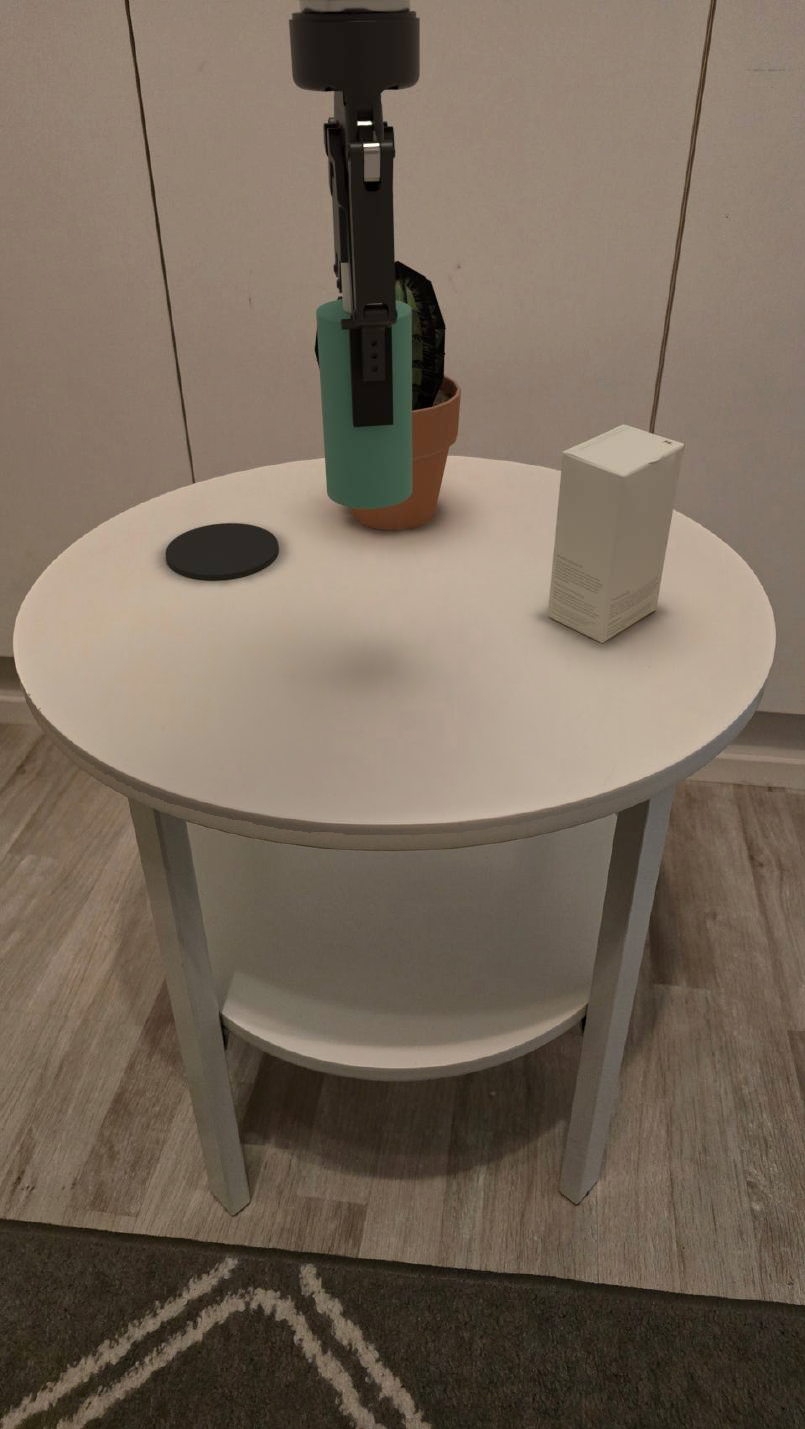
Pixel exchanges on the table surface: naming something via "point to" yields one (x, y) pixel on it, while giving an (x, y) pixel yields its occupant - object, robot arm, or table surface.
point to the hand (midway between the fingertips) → (366, 405)
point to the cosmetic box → (612, 530)
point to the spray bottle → (355, 457)
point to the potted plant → (422, 407)
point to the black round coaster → (222, 551)
